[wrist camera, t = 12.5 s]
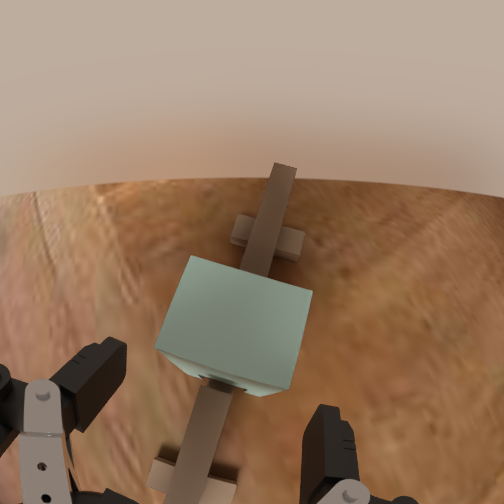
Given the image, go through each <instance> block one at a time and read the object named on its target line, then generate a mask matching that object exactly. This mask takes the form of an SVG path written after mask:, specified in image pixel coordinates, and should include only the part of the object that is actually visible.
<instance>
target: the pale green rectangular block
mask: <svg viewBox="0 0 504 504" xmlns="http://www.w3.org/2000/svg"><path fill="white" fill-rule="evenodd" d="M312 293H313V291H311V290H307V289H304V288H300V287H297V286H293V285H290V284H287V283H283V282H280V281H276V280H273V279H269V278H266V277H262V276H259V275H256V274H252V273H249V272H246V271H242V270H239V269H235V268H232V267H229V266H225V265H222V264H219V263H215V262H212V261H209V260H206V259H202V258H199V257H196V256H192V255H191V256H190V259H189V261H188V263H187V266H186V268H185V271H184V273H183V275H182V278H181V280H180V283H179V285H178V288H177V290H176V292H175V295H174V297H173V300H172V302H171V305H170V307H169V310H168V312H167V315H166V318H165V320H164V323H163V325H162V328H161V330H160V333H159V336H158V338H157V341H156V343H155V346H154V348H156V349H157V350H158V351H159V352H160V353H162V354H163V355H164V356H165V357H166V358H168V359H169V360H170V361H171V362H172V363H174V364H175V365H176V366H177V367H179V368H180V369H181V370H182V371H184V372H185V373H186V374H188V375H191V376H194V377H197V378H200V379H203V376H205V377H208V378H211V379H214V380H217V381H220V382H224V383H227V384H230V385H233V386H237V387H240V388H244V389H245V391H244V392H245V393H248V394H252V395H256V396H259V397H261V396H265V395H269V394H273V393H277V392H281V391H285V390H289V387H290V383H291V380H292V376H293V372H294V368H295V365H296V361H297V357H298V353H299V349H300V345H301V341H302V337H303V333H304V328H305V324H306V320H307V315H308V311H309V307H310V302H311V298H312Z"/></svg>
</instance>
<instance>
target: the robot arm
mask: <svg viewBox="0 0 504 504" xmlns="http://www.w3.org/2000/svg"><path fill="white" fill-rule="evenodd" d="M126 358H127V345H126V343H124V342H122V341H120V340H117V339H115V338H113V337H107V338H106V339H105V340H104V341H103V342H102V343H101V344H100V345H99V344H97V343H93V344H90V345H88V346H85V347H84V348H83V349H82V350H80V351H79V352H78V353H77V355H75V356H74V357H73V358H72V359H71V360H69V361H68V362H67V363H66V364H65V365H64V366H63V367H62V368H61V369H60V370H59V371H58V372H57V373H55V374H54V375H53V376H52V377H51V378H50V379H49V380H46V379H37V380H34V381H32V382H30V383H25V382H22V381H19V380H16V379H14V378H11V375H10V372H9V370H8V368H7V367H6V366H4V365H2V364H0V457H1V456H2V455H3V453H4V452H5V451H6V449H7V448H8V447H9V446H10V444H11V443H12V442H13V441H14V439H15V438H16V437H17V436H18V434H19V433H20V432H21V433H20V434H19V463H20V479H21V490H22V499H23V503H20V504H139V503H137V502H136V501H134V500H132V499H129V498H127V497H125V496H123V495H121V494H118V493H116V492H114V491H112V490H110V489H108V488H106V490H105V491H104V493H99V492H93V491H81V488H80V484H79V480H78V477H77V473H76V468H75V462H74V456H73V450H72V443H71V436H70V433H71V432H72V431H73V430H74V428H75V429H77V430H78V431H80V432H82V433H84V431H85V430H86V429H87V427H88V426H89V425H90V424H91V422H92V421H93V420H94V418H95V417H96V416H97V414H98V413H99V412H100V411H101V409H102V408H103V407H104V405H105V404H106V403H107V402H108V400H109V399H110V398H111V396H112V395H113V394H114V393H115V391H116V390H117V389H118V388H119V386H120V385H121V384H122V382H123V380H124V378H125V375H126ZM22 432H23V433H22ZM354 442H355V439H354V432H353V429H352V428H351V426H350V425H349V423H348V421H343V420H341V418H340V410H339V408H338V407H334V406H329V405H324V404H320V405H319V406H318V408H317V410H316V411H315V413H314V415H313V417H312V418H311V420H310V422H309V424H308V425H307V427H306V429H305V432H304V435H303V441H302V464H301V484H300V500H299V504H418V502H417V501H416V500H414V499H413V498H411V497H408V496H400V497H397V498H395V499H394V500H393V501H387V500H384V499H380V498H377V497H374V496H372V495H370V493H369V490H368V489H367V487H366V486H365V485H364V484H363V483H361V482H360V479H359V470H358V462H357V454H356V451H355V450H356V446H355V443H354Z"/></svg>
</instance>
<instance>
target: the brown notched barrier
mask: <svg viewBox="0 0 504 504" xmlns="http://www.w3.org/2000/svg"><path fill="white" fill-rule="evenodd" d="M296 170H297V168H293V167H290V166H286V165H282V164H279V163H274V166H273V169H272V172H271V174H270V177H269V180H268V183H267V186H266V189H265V192H264V195H263V198H262V201H261V204H260V207H259V210H258V213H257V216H256V218H254V217H250V216H246V215H242V214H238V216H237V219H236V222H235V224H234V227H233V230H232V232H231V235H230V243H231V244H235V245H238V246H242V247H245V248H246V249H245V252H244V255H243V258H242V261H241V264H240V267H239V270H242V271H246V272H249V273H252V274H256V275H259V276H262V277H266V278H267V277H268V273H269V270H270V266H271V263H272V259H273V255H274V256H277V257H281V258H284V259H288V260H291V261H295V262H298V260H299V257H300V255H301V250H302V246H303V241H304V237H305V232H303V231H300V230H296V229H293V228H289V227H286V226H282V223H283V219H284V215H285V211H286V208H287V204H288V200H289V197H290V193H291V189H292V185H293V181H294V178H295V174H296ZM234 387H235V386H233V385H230V384H227V383H224V382H220V381H217V380H214V379H211V378H210V379H209V382H208V385H207V387H205V386H202V385H201V386H200V390H199V393H198V396H197V399H196V402H195V405H194V408H193V411H192V414H191V418H190V421H189V424H188V427H187V430H186V433H185V436H184V439H183V443H182V446H181V449H180V452H179V455H178V458H177V461H176V463H174V462H171V461H168V460H165V459H163V458H160V457H156V458H154V460H153V463H152V466H151V469H150V473H149V476H148V479H147V482H146V486H147V487H150V488H152V489H155V490H157V491H160V492H163V493H166V496H165V499H164V503H163V504H231V502H232V499H233V496H234V493H235V490H236V487H237V481H234V480H230V479H226V478H222V477H218V476H215V475H211V474H208V473H209V470H210V466H211V463H212V460H213V457H214V454H215V451H216V448H217V445H218V441H219V438H220V435H221V432H222V429H223V425H224V422H225V419H226V416H227V413H228V409H229V406H230V403H231V400H232V396H233V395H232V394H233V391H234Z"/></svg>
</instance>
